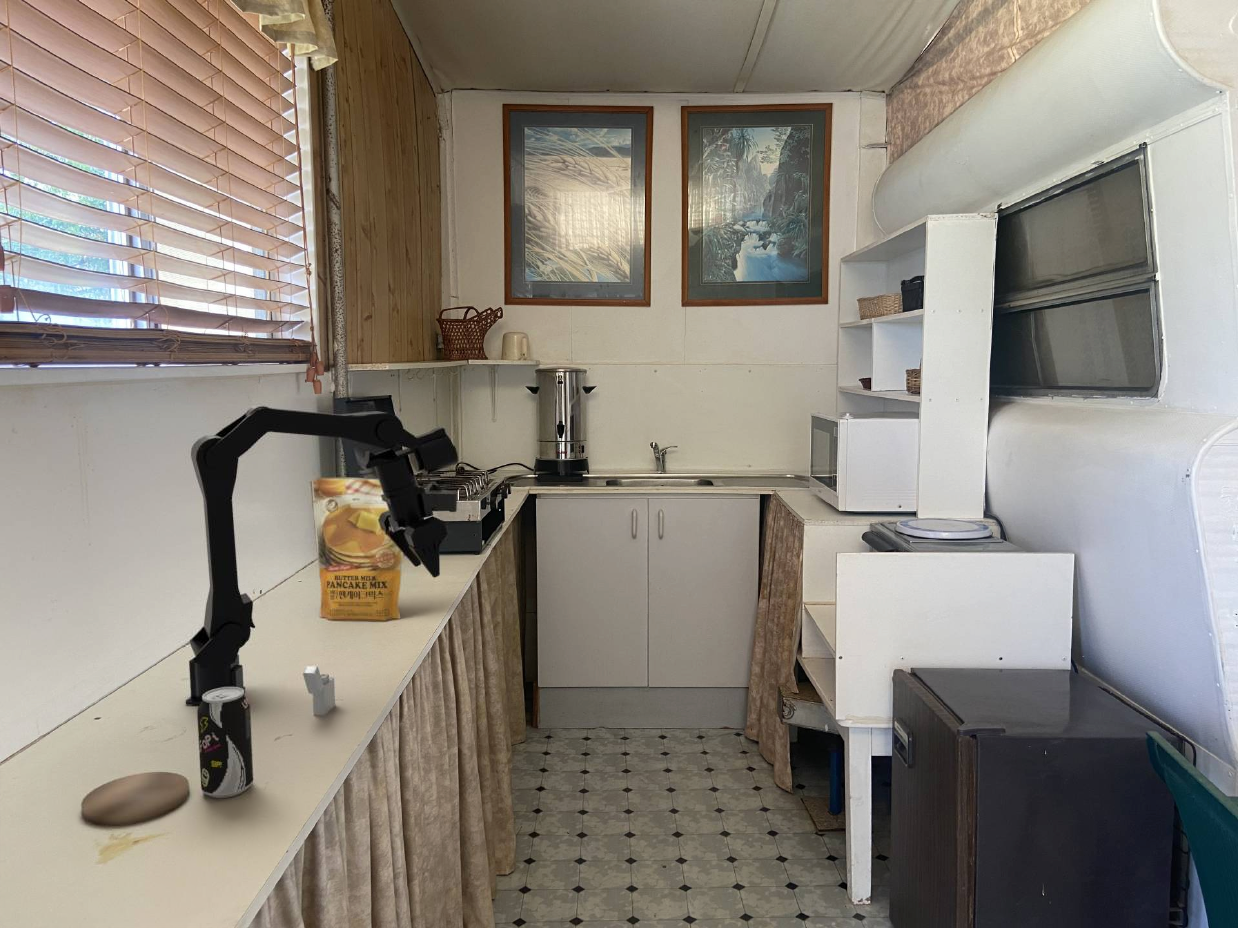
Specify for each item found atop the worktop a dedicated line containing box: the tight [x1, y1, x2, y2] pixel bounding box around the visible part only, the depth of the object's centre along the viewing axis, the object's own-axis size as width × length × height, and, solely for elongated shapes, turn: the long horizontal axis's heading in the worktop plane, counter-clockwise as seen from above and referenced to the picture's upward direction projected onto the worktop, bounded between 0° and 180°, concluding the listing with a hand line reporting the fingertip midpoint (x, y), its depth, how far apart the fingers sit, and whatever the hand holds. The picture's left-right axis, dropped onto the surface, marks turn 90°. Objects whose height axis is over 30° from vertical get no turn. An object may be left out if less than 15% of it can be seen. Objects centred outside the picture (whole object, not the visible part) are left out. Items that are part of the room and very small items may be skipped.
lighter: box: [302, 665, 336, 717], centre depth 131 cm, size 7×2×8 cm, turn 176°
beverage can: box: [196, 687, 254, 799], centre depth 107 cm, size 6×6×12 cm
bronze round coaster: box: [81, 771, 190, 827], centre depth 105 cm, size 11×11×1 cm
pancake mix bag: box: [309, 477, 405, 622], centre depth 179 cm, size 7×19×28 cm, turn 86°
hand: (427, 570), depth 153 cm, fingers open, 9 cm apart
